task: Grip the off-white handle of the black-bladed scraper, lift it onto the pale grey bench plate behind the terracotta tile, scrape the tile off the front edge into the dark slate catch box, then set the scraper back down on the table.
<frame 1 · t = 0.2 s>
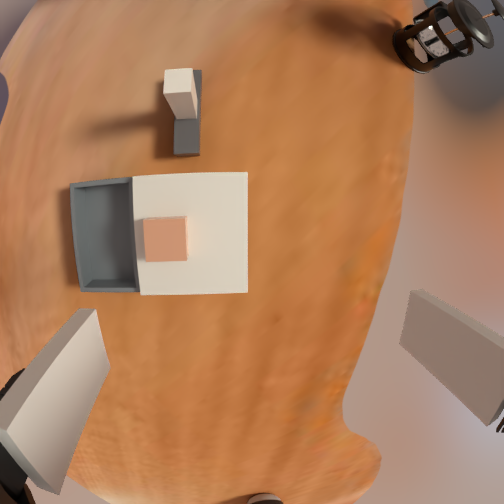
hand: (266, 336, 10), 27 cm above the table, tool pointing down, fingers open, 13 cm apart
catch box: (113, 232, 35), on the table
tile: (168, 236, 31), point 5 cm above the table, touching bench plate
scraper: (189, 115, 33), on the table
pump dispenser: (261, 496, 54), on the table
french press: (411, 49, 34), on the table
bench plate: (193, 229, 36), on the table
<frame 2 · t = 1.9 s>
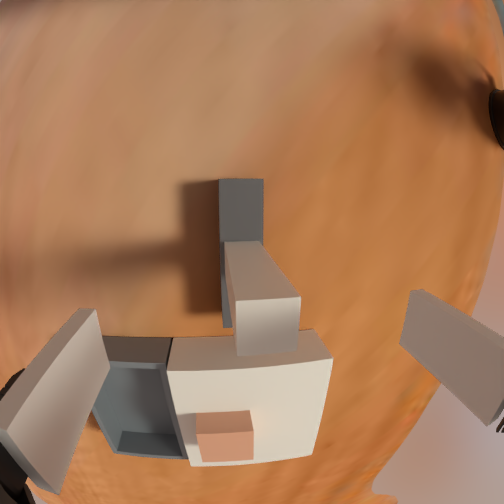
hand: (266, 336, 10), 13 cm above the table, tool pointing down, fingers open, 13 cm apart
catch box: (140, 392, 25), on the table
tile: (224, 427, 21), point 5 cm above the table, touching bench plate
scraper: (238, 248, 23), on the table
french press: (503, 117, 23), on the table
bench plate: (246, 391, 26), on the table
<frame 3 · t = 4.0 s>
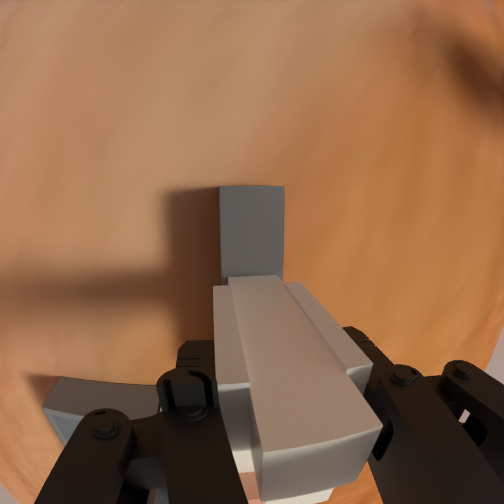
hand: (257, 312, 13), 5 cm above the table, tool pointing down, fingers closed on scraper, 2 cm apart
catch box: (129, 439, 19), on the table
tile: (229, 486, 15), point 5 cm above the table, touching bench plate
scraper: (246, 279, 17), on the table, touching gripper
bench plate: (253, 439, 20), on the table
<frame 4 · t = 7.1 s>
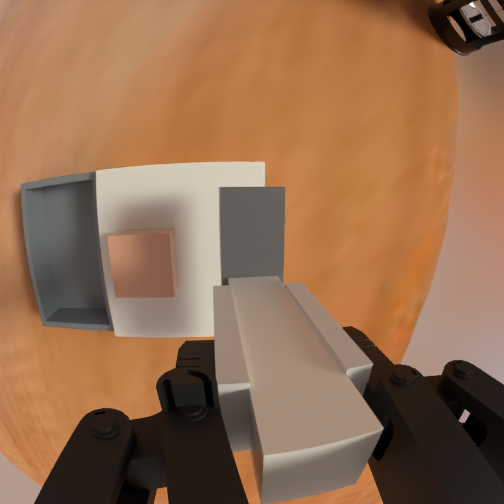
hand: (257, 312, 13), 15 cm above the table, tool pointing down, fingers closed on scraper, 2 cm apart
catch box: (80, 247, 24), on the table
tile: (148, 257, 21), point 5 cm above the table, touching bench plate
scraper: (246, 280, 17), point 10 cm above the table, touching gripper
french press: (449, 27, 23), on the table
bench plate: (185, 243, 26), on the table
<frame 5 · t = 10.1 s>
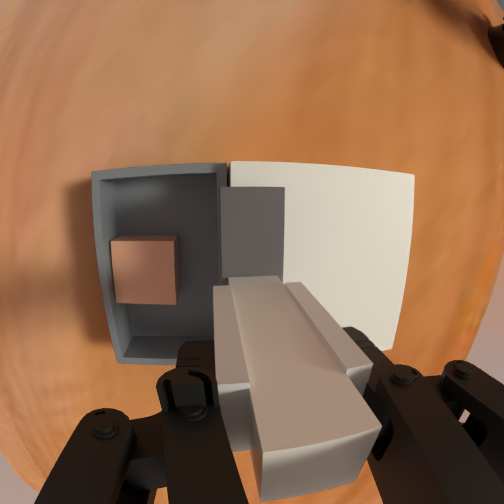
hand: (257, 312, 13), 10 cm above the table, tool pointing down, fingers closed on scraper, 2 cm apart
catch box: (169, 260, 21), on the table
tile: (142, 273, 18), point 3 cm above the table, tilted 180°, touching catch box
scraper: (246, 279, 17), point 5 cm above the table, touching gripper
french press: (502, 49, 20), on the table
bench plate: (307, 255, 23), on the table
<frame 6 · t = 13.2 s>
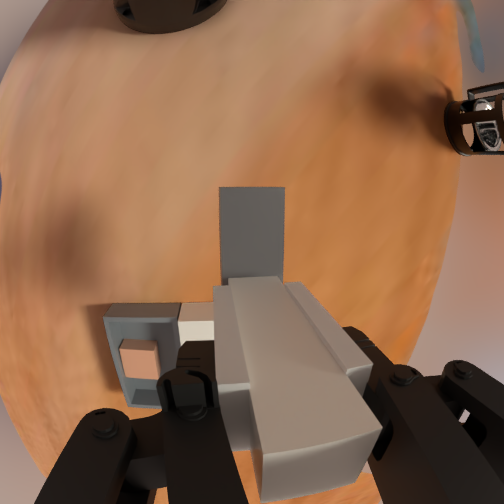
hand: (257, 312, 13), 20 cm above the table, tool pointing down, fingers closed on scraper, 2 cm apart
catch box: (153, 351, 34), on the table
tile: (139, 364, 31), point 3 cm above the table, tilted 180°, touching catch box
scraper: (246, 280, 17), point 16 cm above the table, touching gripper
french press: (460, 125, 33), on the table
bench plate: (237, 349, 35), on the table
when the fingers open (6 cm above the table, at t = 15.9 s): scraper drops 1 cm, on the table.
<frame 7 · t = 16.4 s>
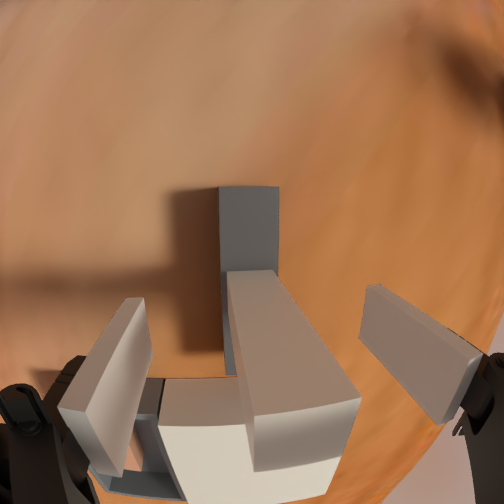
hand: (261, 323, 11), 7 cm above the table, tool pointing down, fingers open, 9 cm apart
catch box: (131, 432, 20), on the table
tile: (111, 455, 17), point 3 cm above the table, tilted 180°, touching catch box
scraper: (243, 274, 18), on the table
bench plate: (252, 432, 21), on the table
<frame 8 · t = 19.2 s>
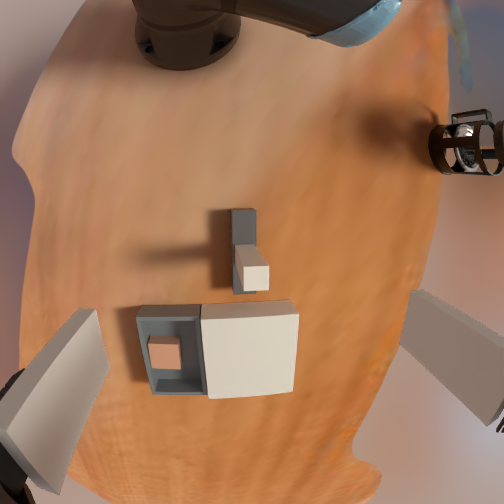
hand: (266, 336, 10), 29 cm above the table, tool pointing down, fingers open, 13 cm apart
catch box: (175, 345, 41), on the table
tile: (164, 356, 38), point 3 cm above the table, tilted 180°, touching catch box
scraper: (242, 248, 39), on the table
french press: (444, 147, 40), on the table
bench plate: (246, 342, 43), on the table
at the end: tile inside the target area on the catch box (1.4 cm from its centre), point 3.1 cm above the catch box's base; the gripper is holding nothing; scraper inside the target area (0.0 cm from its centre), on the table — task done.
